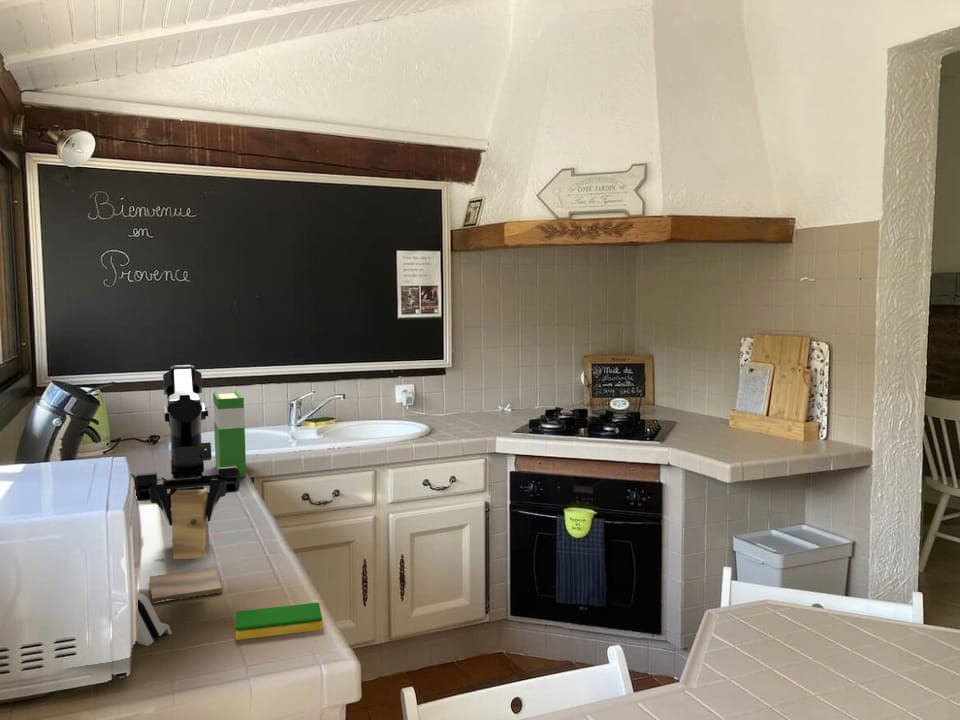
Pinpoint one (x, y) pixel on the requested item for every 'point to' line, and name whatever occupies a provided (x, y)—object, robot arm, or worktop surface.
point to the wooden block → (190, 524)
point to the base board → (185, 584)
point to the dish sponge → (278, 620)
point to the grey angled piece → (149, 622)
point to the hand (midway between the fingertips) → (190, 522)
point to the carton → (229, 431)
